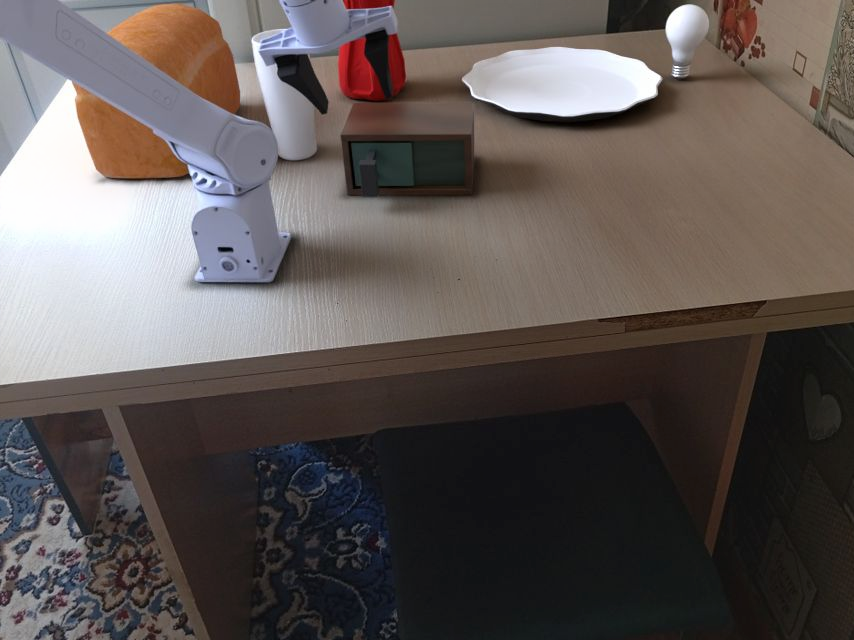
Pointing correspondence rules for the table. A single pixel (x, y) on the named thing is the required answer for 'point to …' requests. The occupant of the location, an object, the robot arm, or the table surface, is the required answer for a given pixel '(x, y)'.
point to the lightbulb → (685, 36)
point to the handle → (382, 165)
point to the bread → (178, 58)
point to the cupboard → (417, 143)
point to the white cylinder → (285, 108)
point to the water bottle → (357, 70)
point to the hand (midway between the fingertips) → (357, 100)
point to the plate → (562, 83)
